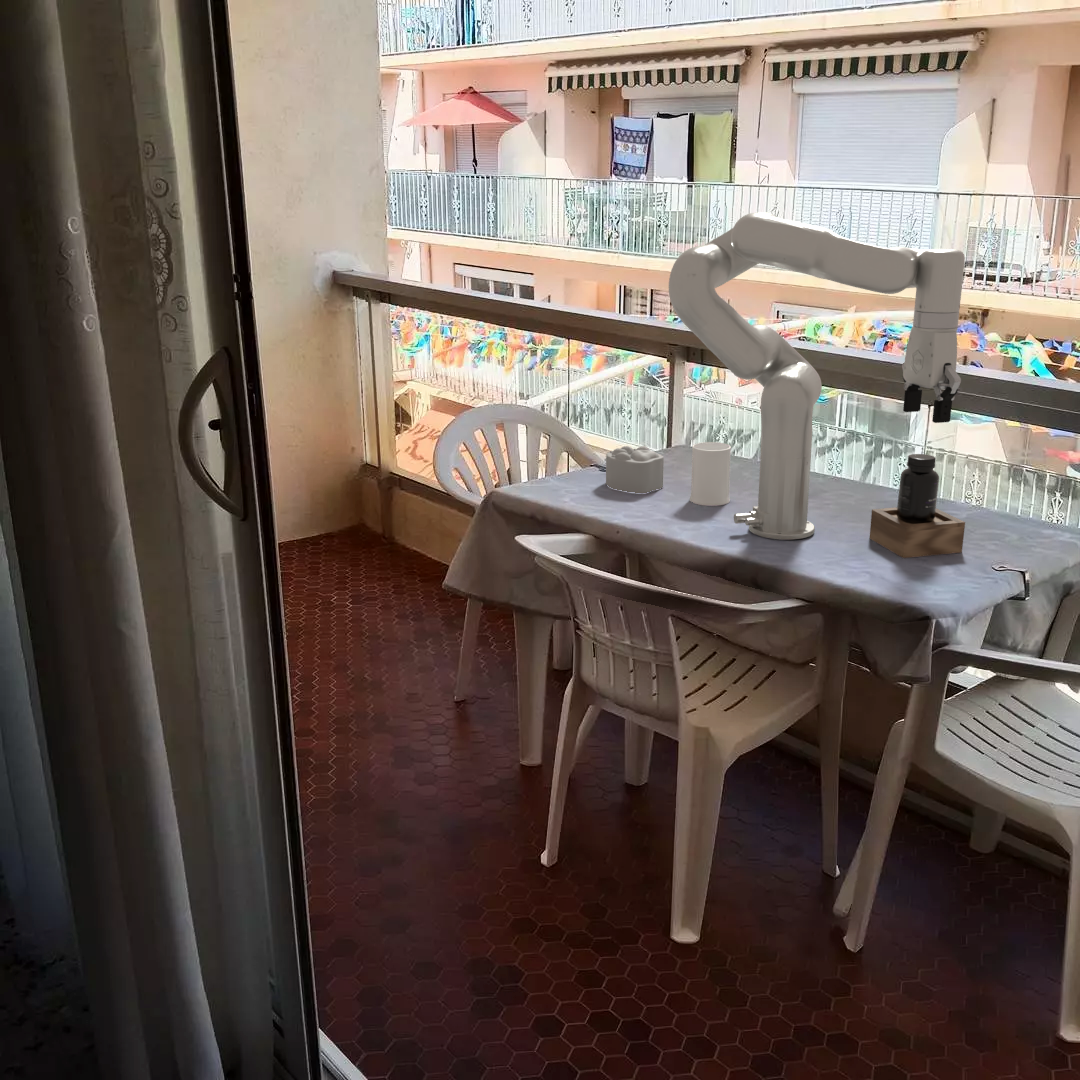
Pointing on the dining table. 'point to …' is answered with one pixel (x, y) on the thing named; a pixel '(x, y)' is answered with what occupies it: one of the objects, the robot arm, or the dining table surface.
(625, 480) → the lumpy-topped squat cylinder
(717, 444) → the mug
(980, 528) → the dining table surface
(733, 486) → the dining table surface
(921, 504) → the supplement bottle
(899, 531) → the display plinth
